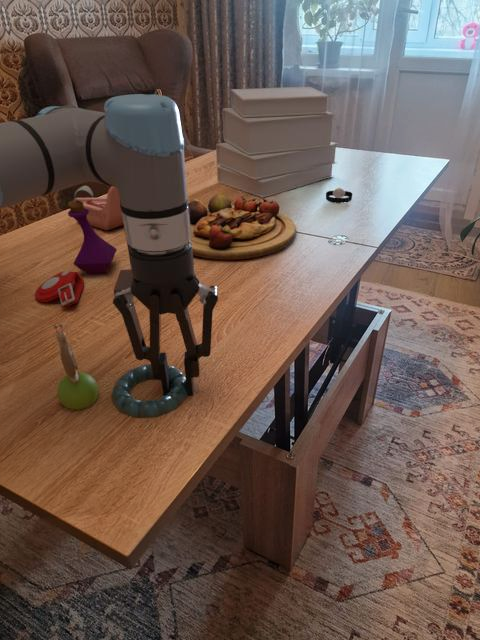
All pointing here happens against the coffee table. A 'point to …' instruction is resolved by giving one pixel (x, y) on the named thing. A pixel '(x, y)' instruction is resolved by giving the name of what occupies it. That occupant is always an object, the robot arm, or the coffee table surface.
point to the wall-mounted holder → (104, 210)
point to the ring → (148, 407)
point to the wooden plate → (238, 228)
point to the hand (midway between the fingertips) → (179, 392)
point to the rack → (124, 279)
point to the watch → (338, 195)
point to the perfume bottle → (90, 241)
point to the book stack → (275, 140)
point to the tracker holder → (61, 288)
